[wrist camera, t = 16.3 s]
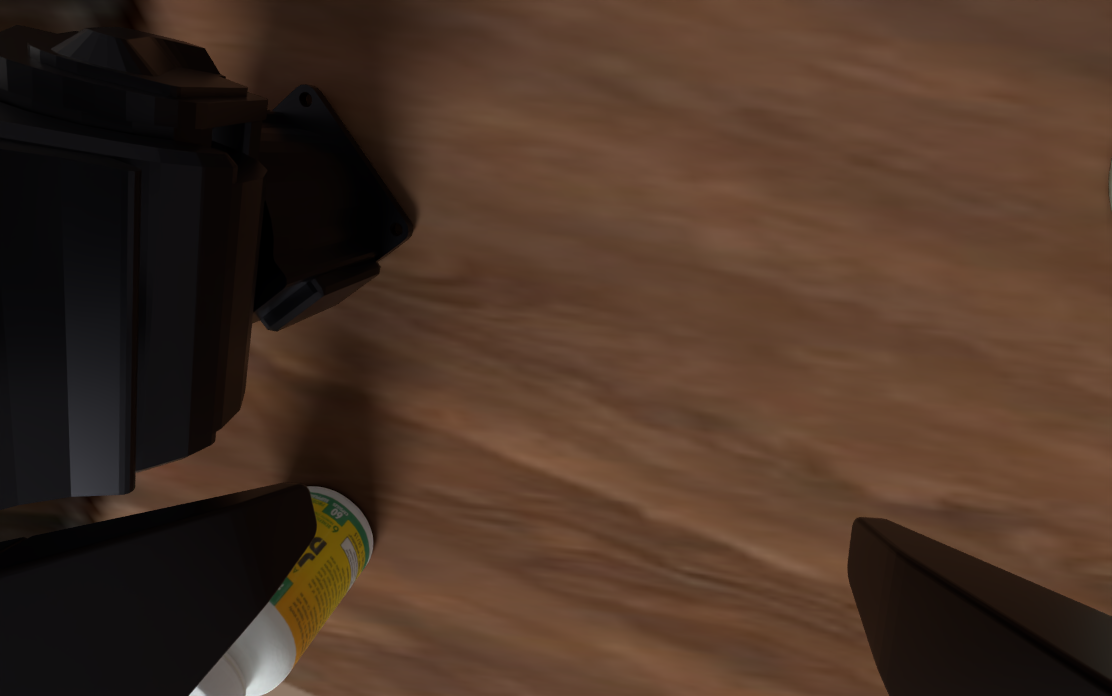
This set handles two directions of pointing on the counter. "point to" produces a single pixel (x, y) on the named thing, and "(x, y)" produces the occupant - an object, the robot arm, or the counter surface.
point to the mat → (1110, 185)
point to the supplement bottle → (297, 602)
